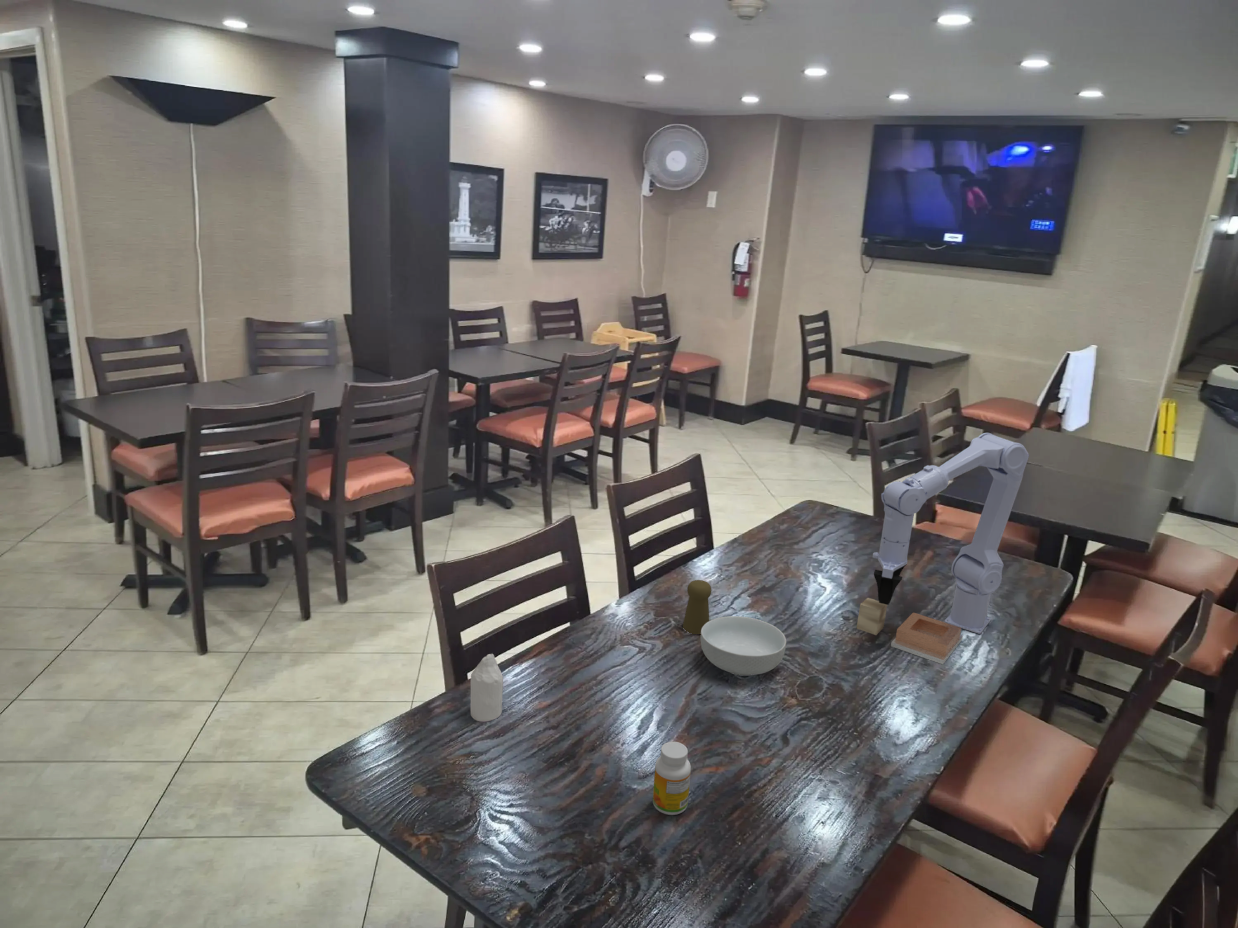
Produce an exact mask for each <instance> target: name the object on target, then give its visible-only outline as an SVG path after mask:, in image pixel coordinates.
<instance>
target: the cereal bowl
mask: <svg viewBox="0 0 1238 928" xmlns="http://www.w3.org/2000/svg"><path fill="white" fill-rule="evenodd" d="M699 639H700V645H701V649H702V652H703V655H705V657H706V658H707V660H708V661H709V662H710V663H711V664H712V665H714V666H715V667H717V668H718V669H720V670H722V671H726V672H727V673H729V674H732V675H735V676H741V677H742V676H743V677H749V676H755V675H762V674H765V673H768V672H770V671H771V670H773V669H775V668H777V666H778V665H779V664H780V663H781V662H782V661H783V660H782V659H784V656H785V654H786V647H787V637H786V636H785V634H784V633H783V631H781V630H780V629H779V628H778V627H776V626H775V625H773V624H771V623H769V622H767V621H763V620H760V619H757V618H753V617H750V616H749V617H748V616H739V615H738V616H737V615H732V616H730V615H729V616H721V617H716V618H713V619H711V620H709V622H707V623H706V624H705V625H704V626H703V627H702V629H701V635H700V638H699Z"/></svg>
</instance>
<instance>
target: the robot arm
mask: <svg viewBox="0 0 1238 928" xmlns="http://www.w3.org/2000/svg"><path fill="white" fill-rule="evenodd" d="M1029 457H1030V454H1029V452H1028V450H1027V449H1026V447H1025V446H1024V445H1023V444H1022V443H1020V442H1015V441H1012V440H1009V439H1007V438H1006V439H1005V438H1004V437H1000V436H997V435H995V434H994V433H990V432H984V433H981V434H979V436H977V437H973V439H972V440H971V441H970V444H969V446H968V447H967V448H965V449H963V450H962V451H960V452H959V453H958V454H956V455H954V456H952V458H950V459H948V460H947V461H945V462H944V463H943V464H941V465H940V466H938V465H933V464H931V465H929V464H927V465H925V466H924V467H923V469H921V470H920V471H918V472H917V473H914V474H912V475H911V476H908V477H907V478H905V479H904V480H903V481H900V480H899V481H897V480H896V481H892V482H891V483H889V484H887V486H886V487H885V488H884V490H883V492H882V493H881V495H880V497H881V501H882V503H883V512H884V519H883V525H882V531H881V538H880V544H879V552H876V551H874V552H873V553H872V558H873V559H877V560H878V563H879V564H880V566H881V568H882V570H879V569H874V571H873V577H874V580H875V582H876V586H877V598H878V600H877V601H879V603H882V604H887V606H889V605H890V603H891V601H892V598H893V595H894V592H895V591H896V588H897V587H898V585H899V584H900V583H901V582H902V580H903V576H901V573H902V571H903V570H904V568H905V567H907V564H908V554H909V546H910V542H911V541H910V540H911V534H912V529H913V523H914V519H915V514H917V513H918V512H919V511H920V510H921V508H922V507H923V505H924V504H925V503H926V502H927V500H929V499H930V498H932V497H933V496H935V495H937V494H938V493H940V492H942V491H944V490H946V489H947V487H948V485H949V481H951V480H953V479H954V478H957V477H960V476H961V475H963V474H964V473H967V472H969V471H971V470H973V469H976V468H978V467H986V468H987V470H988V472H989V473H990V475H991V476H992V482H991V484H990V488H989V491H988V494H987V496H986V497H987V498H986V499H985V502H984V505H983V509H982V511H981V514H980V517H979V521H978V523H977V526H976V529H975V532H974V535H973V538H972V540H971V543H969V544H968V545H964V546H962V547H960V550H959V552H958V555H957V556H956V557H955V559H953V561H952V564H951V567H950V569H951V570H950V571H951V574H952V577H954V583H956V584H955V590H954V594H953V595H954V596H953V601H952V606H951V611H950V614H948V616H947V617H946V618H945V619H944V621H943V622H945V623H948V624H951V625H954V626H957V627H960V628H961V630H962V629H963V630H966V631H968V632H972V633H976V634H979V635H980V634H982V633H983V631H984V630H985V629H986V627H987V626H988V624H989V623H990V622H991V620H992V618H991V617H989V616H988V611H989V607H990V601H991V597H992V594H994V592H996V591H997V590H998V588H999V587H1000V586H1001V583H1002V580H1003V574H1002V572H1003V569H1004V562H1003V559H1002V558H1001V557H1000V555H999V553H998V549H999V546H1000V544H1001V540H1002V538H1003V535H1004V533H1005V532H1004V531H1005V529H1006V526H1007V523H1008V521H1009V518H1010V516H1011V512H1012V508H1013V506H1014V503H1015V500H1016V498H1017V495H1018V492H1019V489H1020V487H1021V485H1022V480H1023V477H1024V472H1025V469H1026V466H1027V463H1028V460H1029Z"/></svg>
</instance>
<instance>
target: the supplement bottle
mask: <svg viewBox="0 0 1238 928" xmlns="http://www.w3.org/2000/svg"><path fill="white" fill-rule="evenodd" d="M688 755H689V754H688V748H687V746H686V745H685V744H683V743H681V742H678V741H667V742H666V743H664V744H662V745H661V749H660V756H659V757H657V759H656V761H655V765H654V777H653V788H652V789H653V792H652V804H653V806H654V808H655V809H656V810H657V811H659V812H660V813H662V814H664V815H667V816H668V815H669V816H675V815H680V814H681V813H684V811H686V810H687V808H688V803H689V795H690V782H691V774H692V773H691V772H692V770H691V769H692V767H691V763H690V761H689V759H688Z"/></svg>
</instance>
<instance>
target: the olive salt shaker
mask: <svg viewBox="0 0 1238 928" xmlns="http://www.w3.org/2000/svg"><path fill="white" fill-rule="evenodd" d="M712 591H713V590H712V586H711V584H710V583H709V582H707V581H706V580H702V579H694V580H692V581H690V582H689V583H688V585H687V595H688V600H687V604H686V608H685V609H686V610H685V613H684V618H683V623H682V626H683V627H682V629H683V628H684V629H685V630H686V631H688V632H689V633H692V634H691V635H693V634H701V629H702V627H703V626H704V625H705V624H706V623H707V622H709V621H710V610H709V609H710V607H709V606H710V605H709V598H710V597H711V594H712ZM689 633H688V634H689Z"/></svg>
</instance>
